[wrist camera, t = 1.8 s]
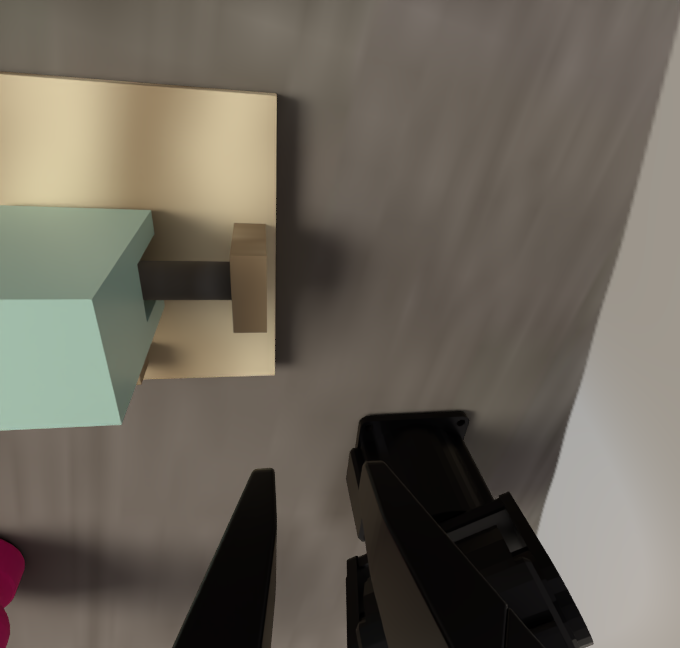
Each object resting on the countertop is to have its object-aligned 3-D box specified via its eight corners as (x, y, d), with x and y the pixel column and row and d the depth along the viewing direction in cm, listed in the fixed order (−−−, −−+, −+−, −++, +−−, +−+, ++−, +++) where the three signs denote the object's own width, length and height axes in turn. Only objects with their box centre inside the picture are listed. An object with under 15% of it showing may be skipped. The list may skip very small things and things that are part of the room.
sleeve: (151, 210, 16) (91, 299, 10) (164, 305, 18) (121, 424, 12) (-4, 205, 15) (-161, 299, 9) (29, 306, 17) (-84, 434, 12)
